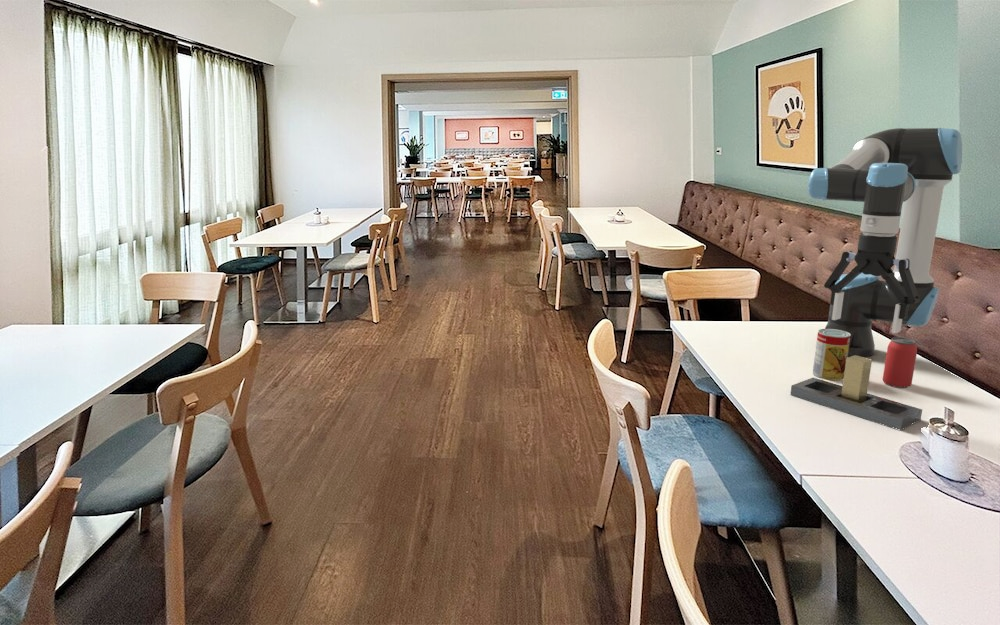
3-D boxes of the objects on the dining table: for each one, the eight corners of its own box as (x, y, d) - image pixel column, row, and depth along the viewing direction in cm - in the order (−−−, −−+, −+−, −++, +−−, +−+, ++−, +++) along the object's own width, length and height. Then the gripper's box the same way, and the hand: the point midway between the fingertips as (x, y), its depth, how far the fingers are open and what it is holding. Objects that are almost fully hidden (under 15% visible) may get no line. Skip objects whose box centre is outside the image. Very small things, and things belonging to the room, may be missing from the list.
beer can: (910, 390, 173) (918, 345, 170) (881, 385, 177) (888, 341, 174) (911, 382, 179) (918, 339, 176) (882, 378, 182) (889, 335, 179)
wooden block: (847, 402, 165) (854, 355, 162) (864, 407, 162) (872, 359, 159) (839, 405, 163) (846, 358, 160) (856, 411, 160) (863, 362, 157)
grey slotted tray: (811, 386, 175) (812, 377, 175) (920, 419, 155) (922, 409, 155) (790, 394, 170) (791, 385, 169) (900, 430, 149) (902, 419, 149)
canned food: (851, 379, 181) (857, 336, 178) (825, 381, 179) (831, 337, 176) (831, 369, 188) (837, 327, 185) (806, 371, 187) (811, 329, 184)
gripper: (816, 228, 160) (805, 316, 165) (932, 242, 140) (915, 341, 146) (832, 226, 164) (821, 311, 169) (947, 239, 145) (930, 335, 150)
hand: (864, 325), depth 158 cm, fingers open, 13 cm apart
